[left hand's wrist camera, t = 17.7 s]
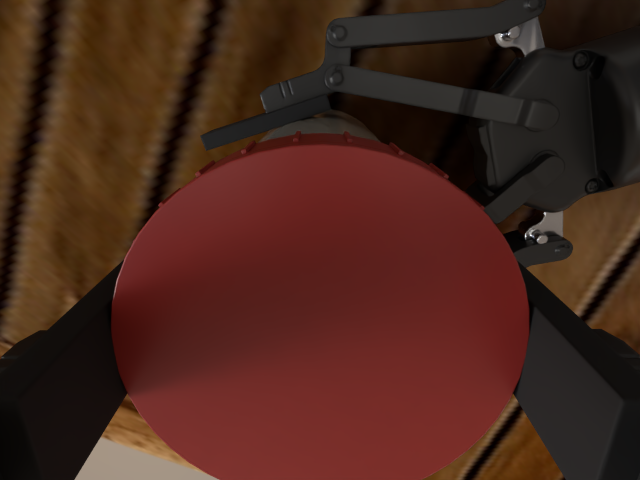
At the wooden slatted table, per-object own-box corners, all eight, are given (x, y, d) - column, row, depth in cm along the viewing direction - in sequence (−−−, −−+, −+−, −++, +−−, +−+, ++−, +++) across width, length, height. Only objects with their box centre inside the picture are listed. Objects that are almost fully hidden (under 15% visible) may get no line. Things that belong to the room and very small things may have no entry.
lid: (473, 450, 14) (496, 505, 12) (163, 447, 14) (139, 502, 12) (531, 132, 10) (576, 144, 9) (112, 128, 10) (68, 138, 9)
